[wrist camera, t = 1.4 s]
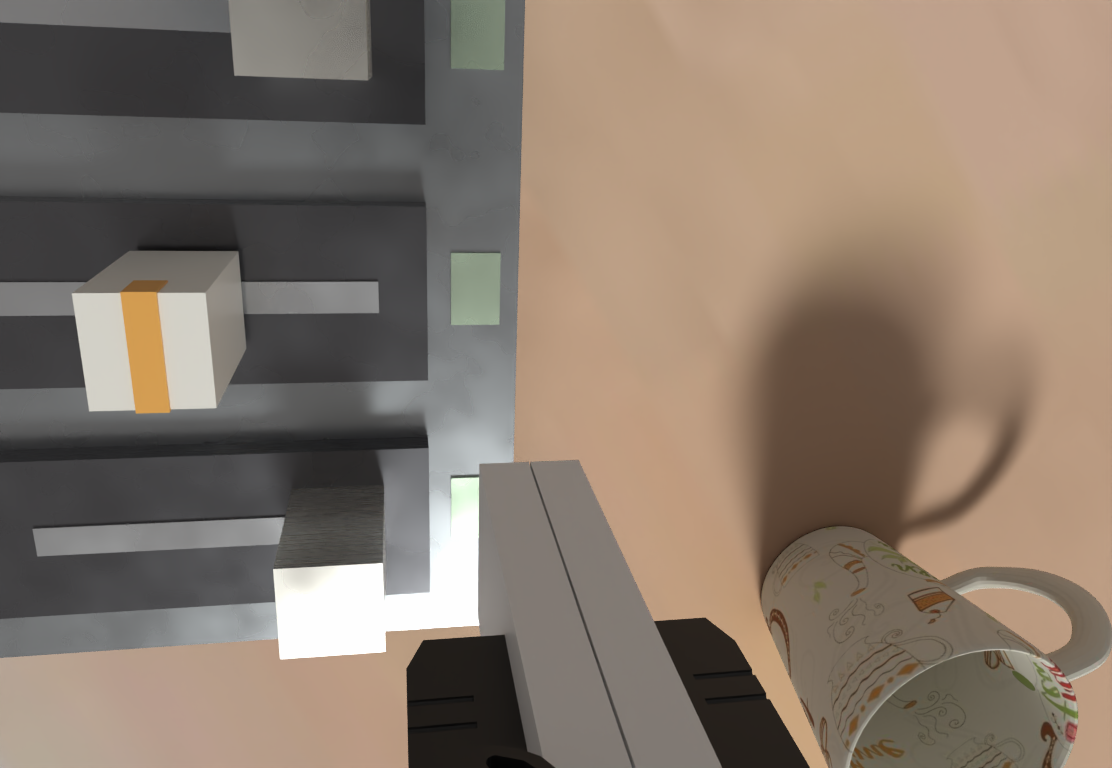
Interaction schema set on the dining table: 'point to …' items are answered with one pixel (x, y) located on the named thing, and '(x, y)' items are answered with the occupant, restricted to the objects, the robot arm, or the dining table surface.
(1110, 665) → the dining table surface
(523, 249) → the dining table surface
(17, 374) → the panel
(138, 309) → the block
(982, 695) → the mug
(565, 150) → the dining table surface
